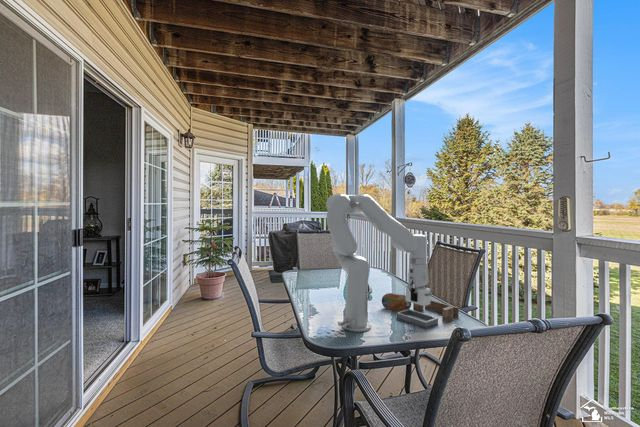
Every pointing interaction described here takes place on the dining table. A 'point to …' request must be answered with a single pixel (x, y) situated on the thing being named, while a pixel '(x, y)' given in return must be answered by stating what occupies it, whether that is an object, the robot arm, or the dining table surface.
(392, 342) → the dining table surface
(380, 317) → the dining table surface
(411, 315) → the tray
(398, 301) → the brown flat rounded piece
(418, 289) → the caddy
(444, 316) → the bay
